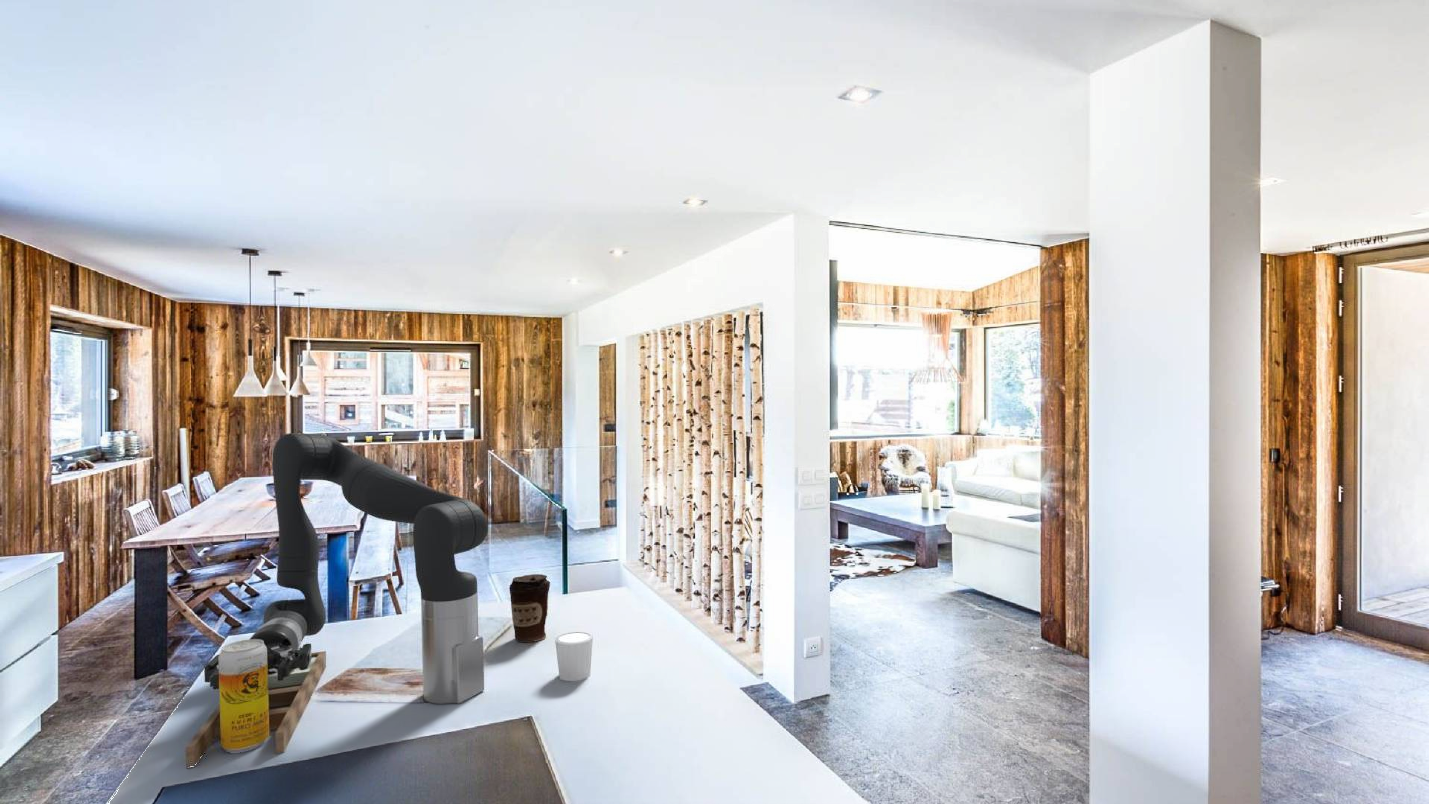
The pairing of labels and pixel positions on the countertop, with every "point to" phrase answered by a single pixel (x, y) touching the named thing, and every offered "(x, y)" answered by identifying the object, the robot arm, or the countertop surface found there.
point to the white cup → (574, 655)
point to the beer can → (243, 695)
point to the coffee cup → (529, 606)
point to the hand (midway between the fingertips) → (248, 678)
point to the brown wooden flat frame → (270, 708)
